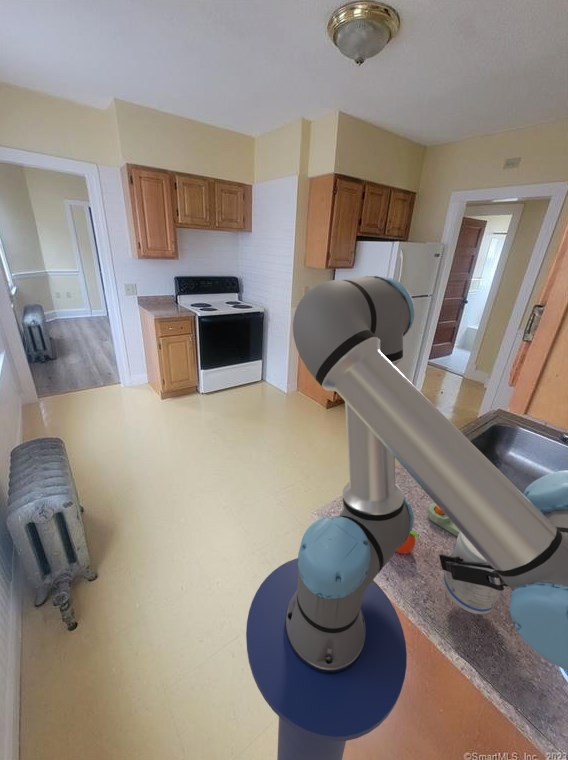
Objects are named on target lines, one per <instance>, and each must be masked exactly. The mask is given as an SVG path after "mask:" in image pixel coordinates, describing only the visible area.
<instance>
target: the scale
mask: <svg viewBox="0 0 568 760" xmlns="http://www.w3.org/2000/svg"><path fill="white" fill-rule="evenodd" d="M435 507H436V503H435V502H434V503H430V505H429V506H428V509H427V515H428V516H429V520H430V521H431V522H432V523H435V524H436V525H437V526H439V527H441V528H442V529H444V530H446V531H447V532H449V533H451V534H452V535H454V536H456V537H458V535H459V533H460V530H459V529H458V528H457V527H456V526H455V525H454V524H453V522H452V521H451V520H450V519H449V518H448V517H447V516H446V515H439V514H437V513H436V512H435Z"/></svg>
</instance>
